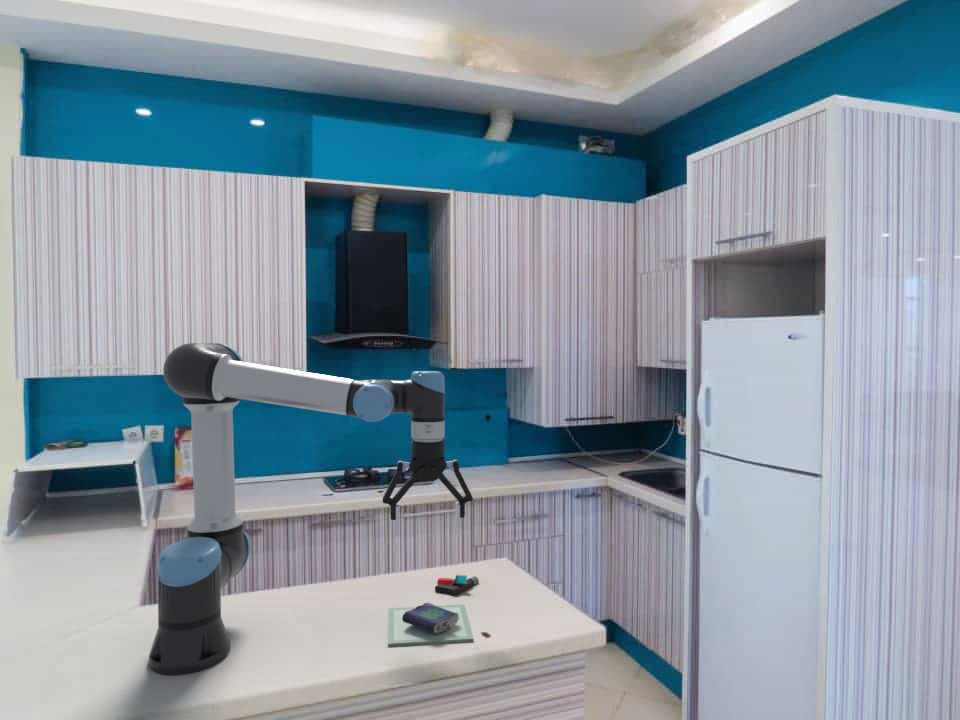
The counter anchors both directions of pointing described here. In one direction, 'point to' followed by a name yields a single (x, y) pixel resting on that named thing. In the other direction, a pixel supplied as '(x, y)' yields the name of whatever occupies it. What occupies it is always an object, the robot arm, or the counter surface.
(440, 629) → the blue clover box
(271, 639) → the counter surface
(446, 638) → the mat
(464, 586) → the toy gun
